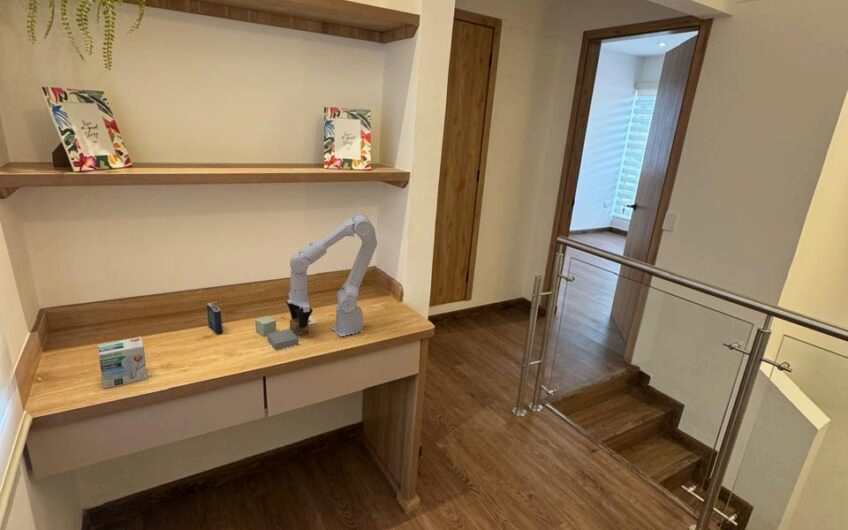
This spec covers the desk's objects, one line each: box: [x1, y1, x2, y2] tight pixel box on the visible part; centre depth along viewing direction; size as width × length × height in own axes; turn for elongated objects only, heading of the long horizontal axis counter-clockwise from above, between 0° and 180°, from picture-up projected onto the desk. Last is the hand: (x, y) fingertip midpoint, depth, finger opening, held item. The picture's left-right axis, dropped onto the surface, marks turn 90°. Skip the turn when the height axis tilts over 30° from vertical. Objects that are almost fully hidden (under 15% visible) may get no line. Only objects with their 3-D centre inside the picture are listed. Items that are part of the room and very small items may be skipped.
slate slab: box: [266, 328, 300, 351], centre depth 156 cm, size 8×8×3 cm
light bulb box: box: [97, 336, 148, 390], centre depth 128 cm, size 11×7×11 cm, turn 126°
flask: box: [206, 301, 224, 336], centre depth 159 cm, size 9×3×11 cm, turn 43°
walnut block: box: [289, 318, 310, 338], centre depth 162 cm, size 5×5×5 cm
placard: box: [308, 315, 318, 326], centre depth 172 cm, size 7×7×1 cm
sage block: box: [254, 315, 277, 338], centre depth 161 cm, size 5×5×5 cm
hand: (298, 322), depth 162 cm, fingers open, 7 cm apart
